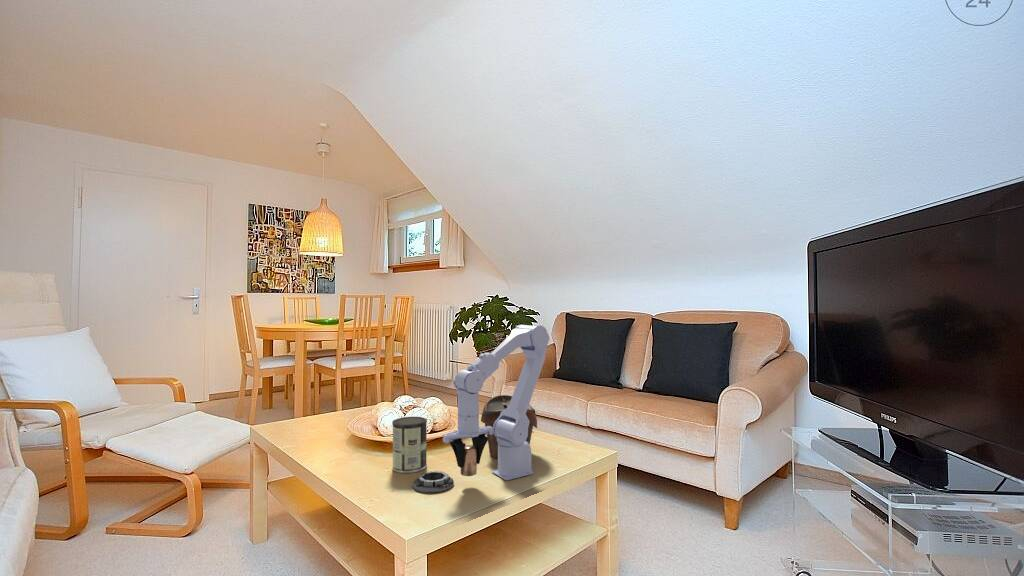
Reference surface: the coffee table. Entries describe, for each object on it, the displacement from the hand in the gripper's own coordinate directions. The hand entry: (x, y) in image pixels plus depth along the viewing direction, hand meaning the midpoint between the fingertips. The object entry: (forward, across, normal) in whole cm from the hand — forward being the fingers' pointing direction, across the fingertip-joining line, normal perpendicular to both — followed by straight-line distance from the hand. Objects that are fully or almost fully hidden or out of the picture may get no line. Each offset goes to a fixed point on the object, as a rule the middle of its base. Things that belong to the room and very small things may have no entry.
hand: (468, 464), depth 129 cm
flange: (+6, -8, +6) cm, 11 cm away
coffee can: (+6, -8, +23) cm, 25 cm away
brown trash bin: (+6, +24, +16) cm, 30 cm away
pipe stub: (+2, 0, 0) cm, 2 cm away
